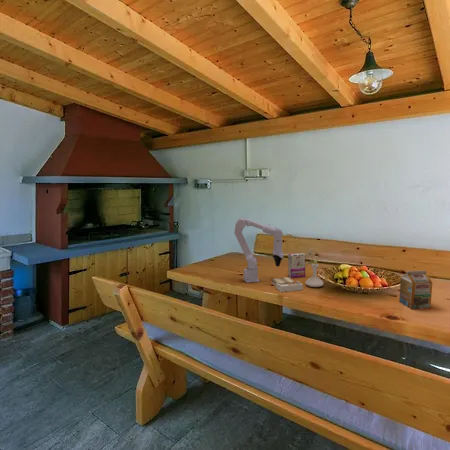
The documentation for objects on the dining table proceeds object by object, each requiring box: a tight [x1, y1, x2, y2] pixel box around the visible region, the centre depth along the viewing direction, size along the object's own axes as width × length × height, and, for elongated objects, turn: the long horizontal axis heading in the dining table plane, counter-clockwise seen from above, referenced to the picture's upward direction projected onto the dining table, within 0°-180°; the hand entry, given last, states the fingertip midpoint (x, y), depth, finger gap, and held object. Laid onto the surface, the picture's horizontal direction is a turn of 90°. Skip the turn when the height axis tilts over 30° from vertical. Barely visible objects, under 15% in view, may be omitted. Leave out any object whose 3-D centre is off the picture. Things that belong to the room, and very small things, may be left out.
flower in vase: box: [304, 247, 324, 288], centre depth 207 cm, size 13×11×25 cm
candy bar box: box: [287, 252, 306, 279], centre depth 228 cm, size 11×5×16 cm, turn 104°
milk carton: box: [398, 270, 433, 310], centre depth 172 cm, size 11×11×19 cm
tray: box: [275, 280, 304, 293], centre depth 202 cm, size 15×8×4 cm, turn 104°
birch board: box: [271, 276, 296, 287], centre depth 212 cm, size 12×10×3 cm
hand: (277, 266), depth 218 cm, fingers closed
